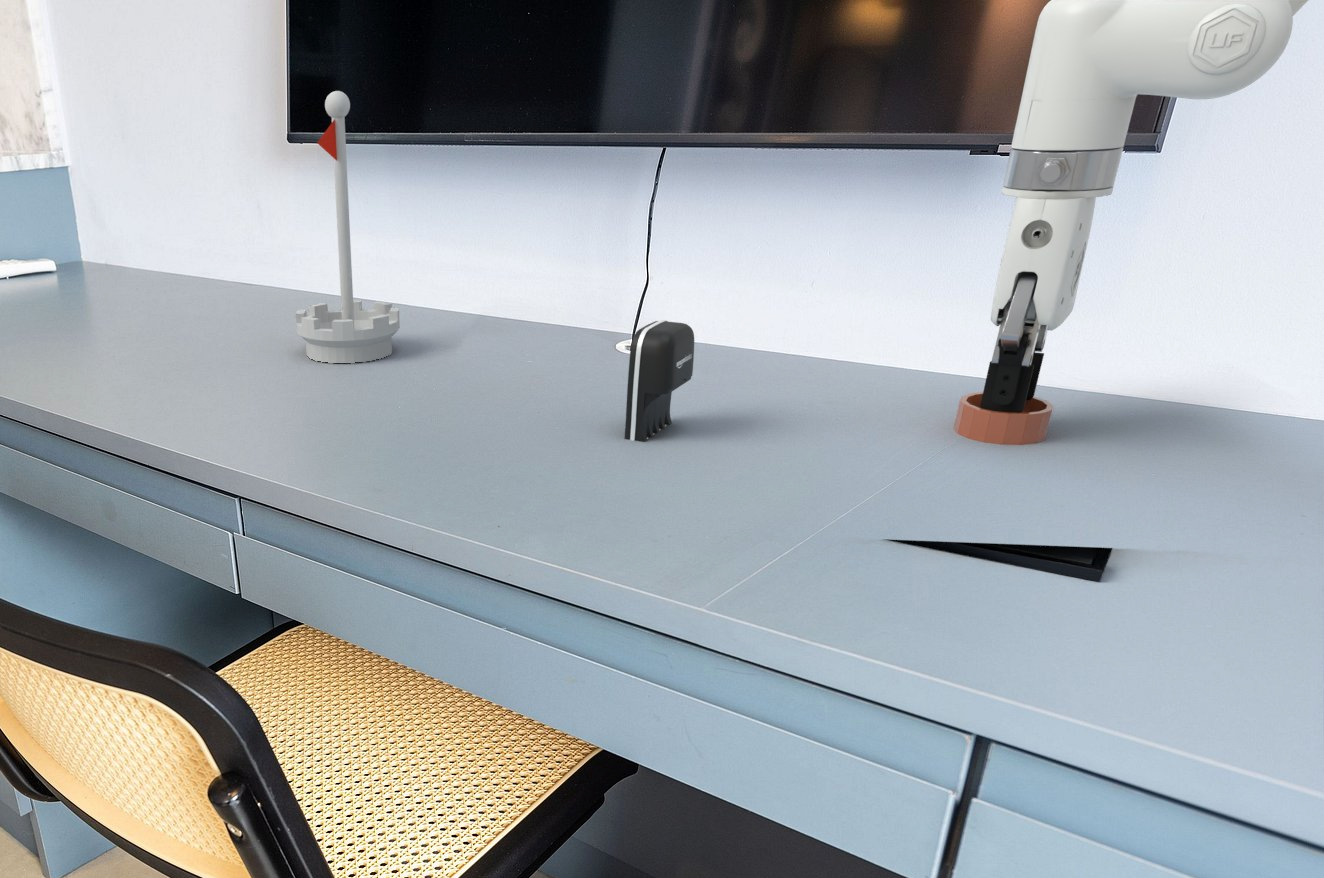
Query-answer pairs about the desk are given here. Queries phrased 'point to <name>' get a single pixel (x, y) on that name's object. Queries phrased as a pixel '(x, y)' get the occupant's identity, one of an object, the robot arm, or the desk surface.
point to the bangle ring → (1003, 422)
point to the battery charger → (656, 375)
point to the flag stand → (345, 276)
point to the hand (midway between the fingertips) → (1007, 402)
